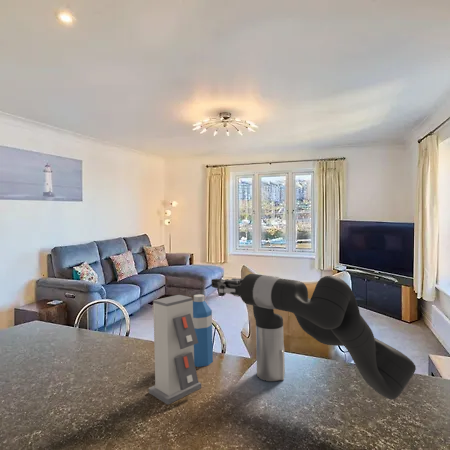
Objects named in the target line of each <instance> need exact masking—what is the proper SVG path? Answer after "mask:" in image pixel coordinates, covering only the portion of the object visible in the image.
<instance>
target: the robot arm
mask: <svg viewBox="0 0 450 450" xmlns="http://www.w3.org/2000/svg"><path fill="white" fill-rule="evenodd" d="M211 287H212V288H214V289H217V293H218V295H219V296H220V297H225V295H226V294H228V295H232V296H233V297H239V298H240V299H241V300H242V302H243V303H244V304H246V305H249V306H252V310H253V311H252V312H253V317H254V320H255V344H256V345H255V348H256V350H255V352H256V354H255V355H256V376H257V377H259V378H258V379H260V378H261V379H260V380H262V379H263V381H265V380H266V381H265V382H277V381H278V382H279V381H284V380H285V379H284V378H285V373H286V372H285V371H286V369H285V368H286V367H285V344H284V342H285V341H284V318H283V316H282V315H280V314H279V313H275V310H279V311H283V312H287V313H293V314H294V316H295V318H296V320H297V322H298V325H299V326H300V328H301V329H302V331H304V332H305V333H306V334H307V335H309V336H311V337H312V338H313V339H315V340H316V341H317V342H319V343H321V344H322V345H326V346H335V347H338V346H339V347H344V348H346V350H347V352H348V353H349V355H350V357H351V358H352V360H353V363H354V364H355V367H356V368H357V369H358V372H359V374H360V376H361V377H362V378H363V380H364V382H365V383H366V384H367V385H368V386H369V387H370V388H371V389H373V390H374V391H375V392H376V393H378V394H379V395H380V396H382V397H384V398H386V399H388V400H393V401H394V400H397V399H398V398H399V396H400V395H401V394H402V392H403V391H404V389H405V388H406V386H407V385H408V384H409V382H410V380H411V379H412V377H413V375H415V372H416V370H417V368H416V364H415V362H413V361H412V359H410V358H409V357H408V356H407V355H405V354H404V353H403V352H401V351H399V350H398V349H396V348H394V347H393V346H390V344H387V343H385V342H383V341H382V340H380V339H378V338H376V337H375V335H374V333H373V330H372V329H371V327H370V325H369V324H368V322H367V321H366V320H365V319H364V317H363V316H362V315H361V313H360V309H359V308H360V307H359V305H358V301H357V299H356V296H355V293H354V292H353V290H352V288H351V287H350V285H349V284H348V283H347V282H346V281H345V280H343V279H342V278H340V277H339V276H335V275H325V276H322V277H321V278H320V279H319V280H318V281H317V283H316V284H315V288H314V290H313V291H312V292H313V293H312V295H311V298H309V291H308V288H307V285H306V284H305V283H304V282H302V281H301V280H294V279H288V278H280V277H279V276H273V275H265V274H256V273H249V274H247V275H245V276H244V277H243V278H236V277H235V278H231V279H228V278H226V279H220V278H213V279H211Z"/></svg>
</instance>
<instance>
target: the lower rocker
mask: <svg viewBox="0 0 450 450" xmlns="http://www.w3.org/2000/svg"><path fill="white" fill-rule="evenodd" d="M174 360H175V365H176V370H177V374H178V379H179V384H180V389H181V390H184V389H186V388H188V387H190V386H192V385H195V384H197V383H199V379H198V378H199V377H198V374H197V370H196V366H195V363H194V359H193V354H192V352H189V353H187V354H184V355H182V356H179V357H176V358H174Z"/></svg>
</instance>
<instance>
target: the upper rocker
mask: <svg viewBox="0 0 450 450" xmlns="http://www.w3.org/2000/svg"><path fill="white" fill-rule="evenodd" d="M173 322H174V326H175V330H176V334H177V338H178V342H179V346H180V349H183V348H186V347H189V346H191V345H194V344H197V343H198V340H197V336H196V332H195V329H194V325H193V321H192V318H191V314H187V315H184V316H180V317H176V318H173Z"/></svg>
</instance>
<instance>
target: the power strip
mask: <svg viewBox="0 0 450 450" xmlns="http://www.w3.org/2000/svg"><path fill="white" fill-rule="evenodd" d="M193 301H194V297H191V296H187V295H182V294H176V295H171V296H167V297H163V298H158V299H153V300H152V302H153V304H152V307H153V309H152V310H153V338H154V339H153V341H154V343H153V344H154V345H153V347H154V379H155V380H154V382H155V384H154V385H152V386H150V387H148V394H150V395H151V396H153V397H154V398H156V399H158V400H159V401H161V402H163V403H164V404H166V405H171V404H172V403H175V402H176V401H179V400H180V399H182V398H185V397H186V396H188V395H190V394H192V393H194V392H197V391H198V390H201V389H202V382H199V381H198V382H199V383H197V384H195V385H192V386H190V387H188V388H186V389H184V390H181V389H180V384H179V379H178V374H177V370H176V365H175V360H174V358H176V357H179V356H182V355H184V354H187V353H189V352H192V354H193V359H194V345H191V346H189V347H186V348H183V349H180V346H179V342H178V338H177V334H176V330H175V326H174V322H173V318H176V317H180V316H184V315H187V314H191V318H192V321H193Z"/></svg>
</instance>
